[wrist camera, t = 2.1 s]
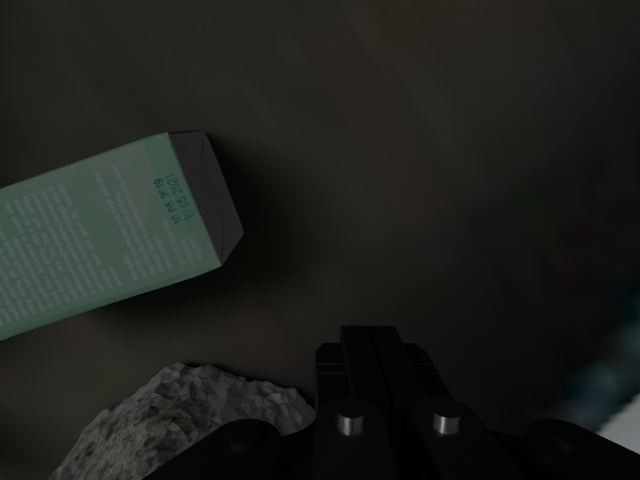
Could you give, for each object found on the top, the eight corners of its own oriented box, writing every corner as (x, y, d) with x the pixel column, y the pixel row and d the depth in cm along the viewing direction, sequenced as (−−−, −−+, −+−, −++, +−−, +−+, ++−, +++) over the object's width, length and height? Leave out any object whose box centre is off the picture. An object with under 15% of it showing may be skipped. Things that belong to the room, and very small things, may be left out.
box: (9, 196, 28) (-94, 219, 21) (204, 127, 27) (169, 125, 20) (62, 297, 30) (-16, 350, 22) (246, 233, 29) (227, 267, 22)
